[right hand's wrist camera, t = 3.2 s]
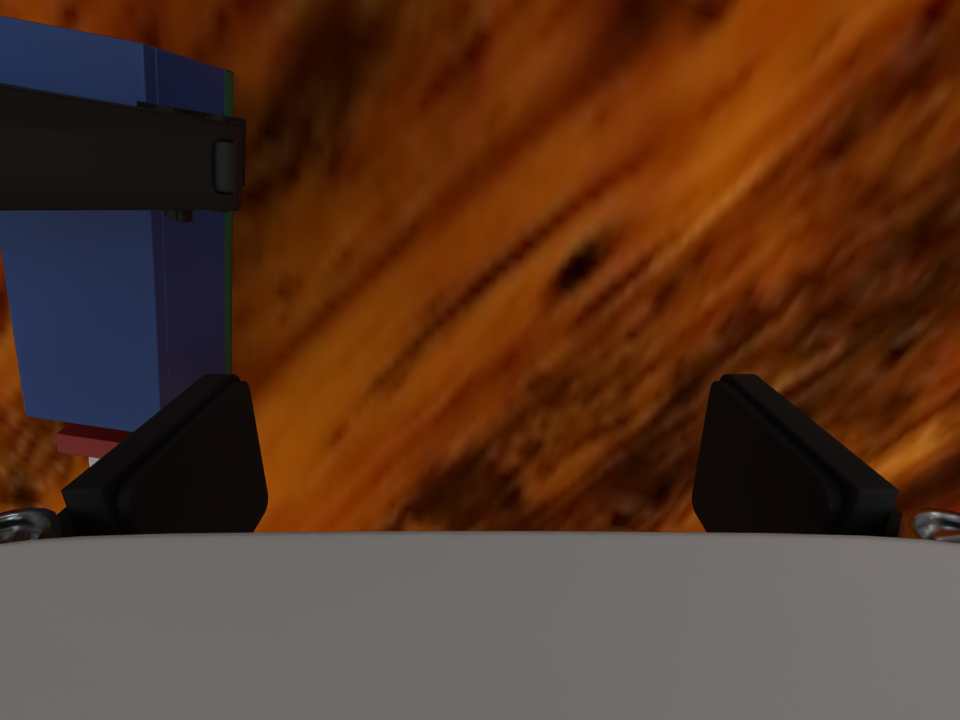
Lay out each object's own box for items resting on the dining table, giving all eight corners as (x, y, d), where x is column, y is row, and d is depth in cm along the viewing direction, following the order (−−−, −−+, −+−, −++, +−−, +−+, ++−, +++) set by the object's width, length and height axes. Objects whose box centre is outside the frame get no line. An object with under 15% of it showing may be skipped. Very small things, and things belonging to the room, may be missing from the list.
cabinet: (231, 375, 35) (161, 437, 27) (125, 358, 34) (25, 416, 27) (233, 72, 28) (143, 42, 21) (103, 47, 28) (-37, 8, 20)
